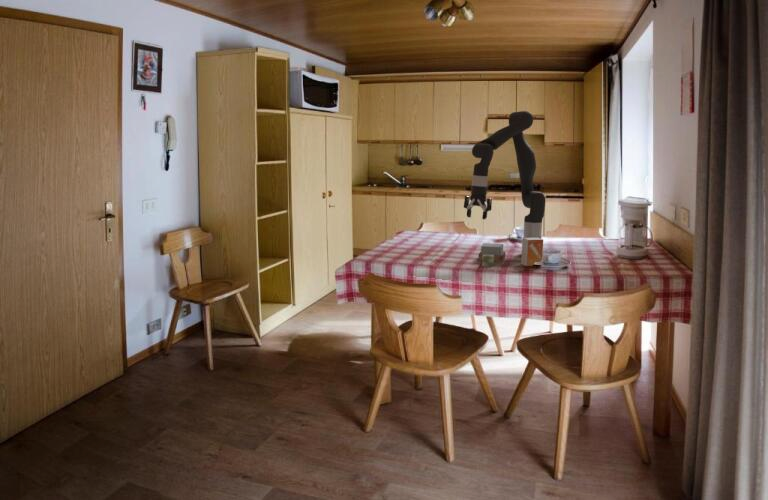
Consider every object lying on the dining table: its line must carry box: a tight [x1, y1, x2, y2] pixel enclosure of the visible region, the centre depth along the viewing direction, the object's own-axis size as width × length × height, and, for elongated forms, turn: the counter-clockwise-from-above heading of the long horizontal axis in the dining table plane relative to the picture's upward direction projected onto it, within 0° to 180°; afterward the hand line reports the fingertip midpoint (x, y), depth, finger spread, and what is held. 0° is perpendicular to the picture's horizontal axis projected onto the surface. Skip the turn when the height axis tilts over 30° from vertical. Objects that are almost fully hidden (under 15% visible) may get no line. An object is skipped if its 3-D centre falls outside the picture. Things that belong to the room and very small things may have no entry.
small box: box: [520, 237, 544, 267], centre depth 293 cm, size 8×6×13 cm
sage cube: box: [481, 254, 495, 268], centre depth 292 cm, size 5×5×5 cm
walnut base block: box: [478, 251, 506, 264], centre depth 306 cm, size 12×12×4 cm
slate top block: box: [480, 242, 504, 255], centre depth 306 cm, size 10×10×4 cm
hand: (476, 218), depth 297 cm, fingers open, 8 cm apart
